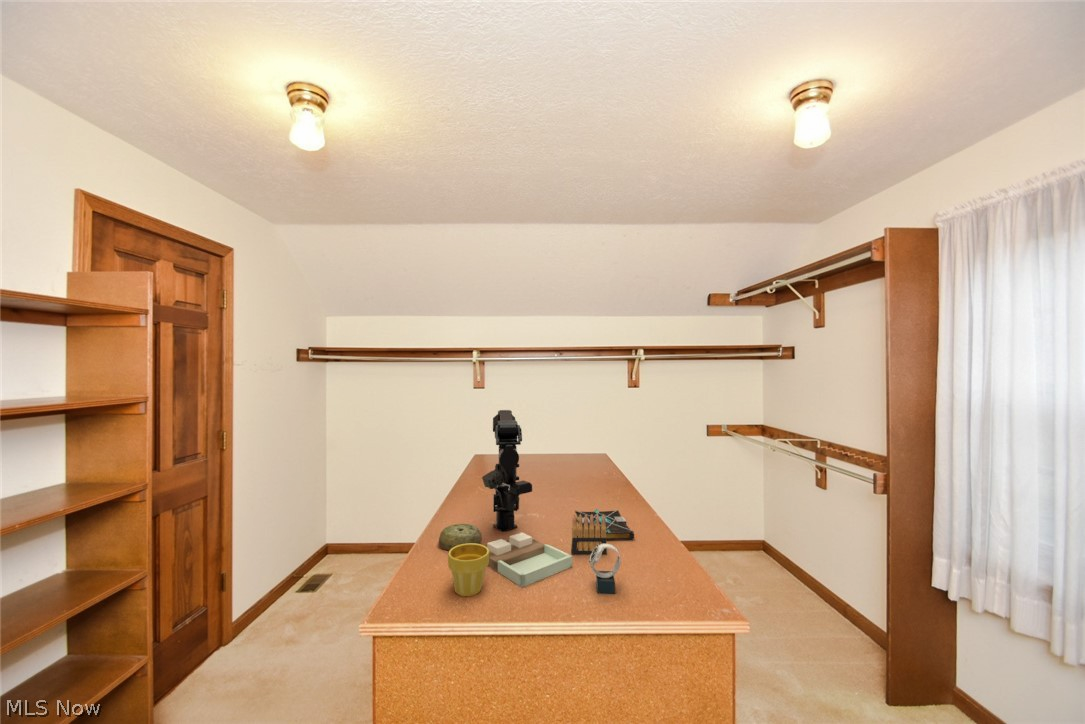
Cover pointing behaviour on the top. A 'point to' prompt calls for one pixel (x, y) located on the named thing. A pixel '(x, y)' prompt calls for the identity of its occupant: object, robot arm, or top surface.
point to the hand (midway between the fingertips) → (507, 509)
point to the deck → (516, 554)
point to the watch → (604, 578)
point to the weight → (459, 535)
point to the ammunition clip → (587, 535)
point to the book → (610, 524)
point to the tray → (536, 566)
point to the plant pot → (468, 567)
